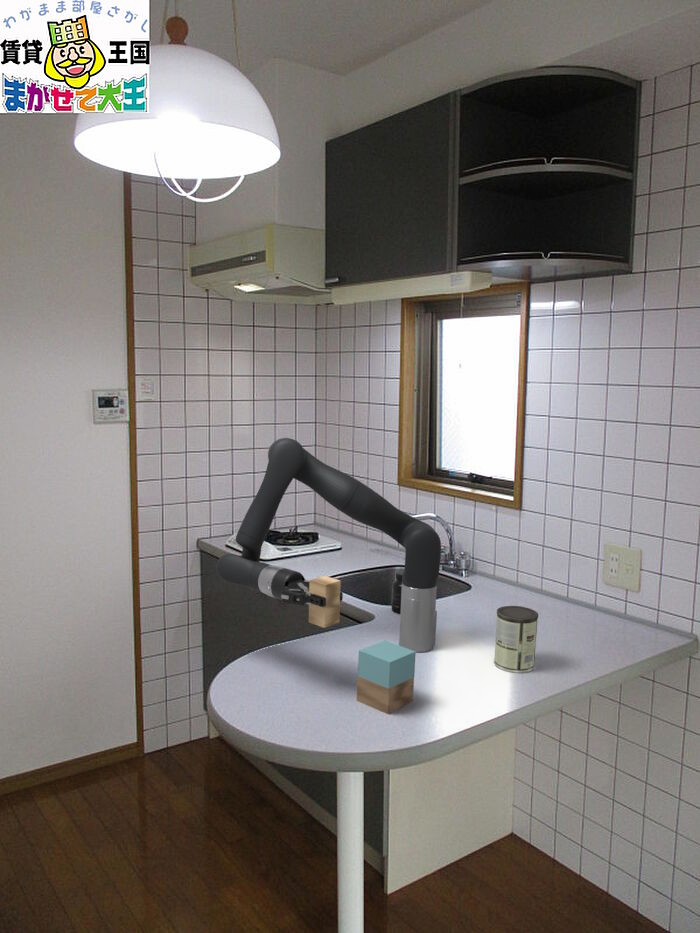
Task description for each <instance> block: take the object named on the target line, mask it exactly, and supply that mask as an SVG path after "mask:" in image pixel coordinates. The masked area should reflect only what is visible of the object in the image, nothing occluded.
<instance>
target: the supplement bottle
mask: <svg viewBox="0 0 700 933" xmlns="http://www.w3.org/2000/svg"><path fill="white" fill-rule="evenodd" d="M403 572H404V570H400V571H399V570H398V571H396V572H395V580H394V581H393V582H392V585H391V611H392V612H393V613H394V614H397V615H398V614H399V615H400V613H401V592H402V575H403Z"/></svg>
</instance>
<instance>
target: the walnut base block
mask: <svg viewBox="0 0 700 933" xmlns="http://www.w3.org/2000/svg"><path fill="white" fill-rule="evenodd" d="M414 682H415V676H414V677H413V678H411V679H409V680H407V681H405V682H402V683H400V684H398V685H396V686H394V687H391V688H389V689H388V688H386V687H383V686H381V685H379V684H376V683H374V682H371V681H369V680H366V679H364V678H362V677H359V676H358V675H357V682H356V702H358V703H360V704H363V705H366V706H368V707H370V708H372V709H374V710H377V711H379V712H382V713H384V714H386V715H390V714H391V713H393V712H395V711H397V710H398V709H399V710H400V709H401V708H403V707H405V706H407V705H408V704H411V703H412V702H413V701H414V687H415V686H414V684H415V683H414Z"/></svg>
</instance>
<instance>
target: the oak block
mask: <svg viewBox="0 0 700 933" xmlns="http://www.w3.org/2000/svg"><path fill="white" fill-rule="evenodd" d="M309 581H310V585H309V592H311V593H312V594H316V595H319V596H323V597H325V598H326V606H325V607H320V606H317V605H314V604H310V605H309V604H308V623H309V624H312V625H316V626H318V627H321V628H328V627H331V626H334V625H336V624H339V623H340V616H341V615H340V614H341V601H340V591H341V582H342V581H341V580H339V579H336V578H334V577H330V576H327V575H323V576H320V577H316V578H313V579H309Z"/></svg>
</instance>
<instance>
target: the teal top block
mask: <svg viewBox="0 0 700 933" xmlns="http://www.w3.org/2000/svg"><path fill="white" fill-rule="evenodd" d="M416 654H417V652H416V651H413V650H410V649H407V648H405V647H402V646H399V644H396V643H393V642H391V641H388V640H382V641H380V642H378V643H377V642H376V643H375V644H372V645H369V646H367V647H366V646H365V647H364V648H362V649H358V663H357V665H358V666H357V677H358V676H359V677H362V678H364V679H366V680H369V681H371V682H374V683H376V684H379V685H381V686H383V687H386V688H388V689H389V688H391V687H394V686H396V685H398V684H400V683H402V682H405V681H407V680H409V679H411V678H413V677H414V678H415V672H416V656H417V655H416Z"/></svg>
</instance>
